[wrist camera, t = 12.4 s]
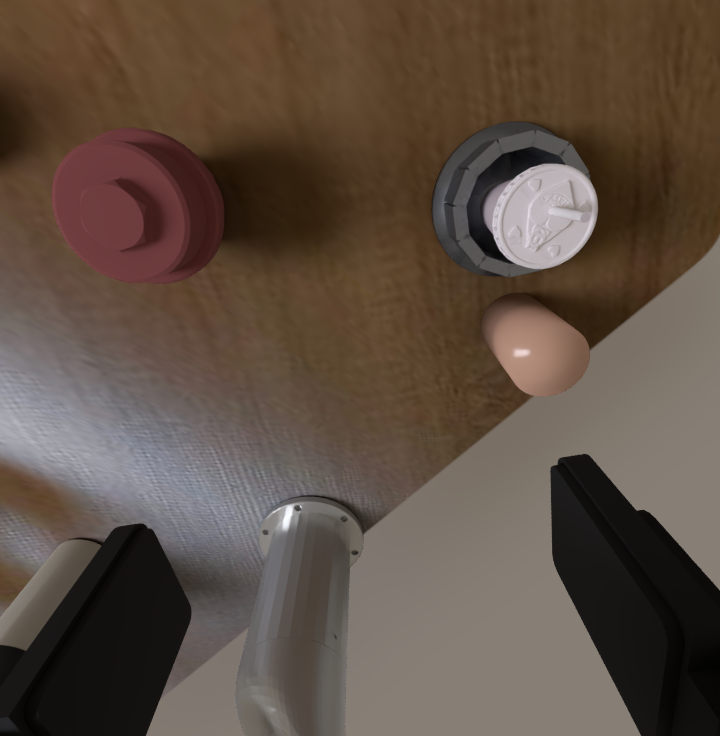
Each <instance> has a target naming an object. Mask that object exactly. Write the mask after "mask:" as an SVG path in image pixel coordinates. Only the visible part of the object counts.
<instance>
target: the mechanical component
mask: <svg viewBox="0 0 720 736" xmlns="http://www.w3.org/2000/svg"><path fill="white" fill-rule="evenodd" d="M52 205H53V211H54V215H55V218H56V221H57V224H58V226H59V229H60V231H61V233H62V234H63V236H64V238H65V240H66V241H67V243H68V244H69V245H70V247H71V248H72V250H73V251H74V252H75V253H76V254H77V255H78V256H79V257H80V258H81V259H82V260H83V261H84V262H85V263H87V264H88V265H89V266H90V267H92V268H93V269H95V270H96V271H98V272H100V273H102V274H104V275H106V276H108V277H110V278H113V279H116V280H119V281H124V282H129V283H143V282H147V283H153V284H166V283H174V282H177V281H181V280H183V279H186V278H188V277H190V276H192V275H193V274H195V273H196V272H198V271H200V270H201V269H202V268H203V267H205V266H206V265H207V264H208V263H209V262H210V260H211V259H212V258H213V257H214V255H215V253H216V252H217V250H218V248H219V245H220V243H221V240H222V236H223V231H224V202H223V197H222V194H221V191H220V189H219V187H218V185H217V183H216V182H215V179H214V176H213V174H212V173H211V172H210V171H209V170H208V169H207V168H206V166H205V165H204V164H203V162H202V161H201V160H200V159H199V158H198V157H197V156H196V155H195V154H194V153H193V152H192V151H191V150H190V149H188V148H187V147H186V146H185V145H183V144H182V143H180V142H178V141H177V140H175V139H173V138H171V137H169V136H167V135H164V134H162V133H158V132H154V131H150V130H144V129H138V128H121V129H114V130H111V131H108V132H105V133H103V134H101V135H99V136H98V137H96V138H94V139H93V140H92V141H90V142H87V143H84V144H81V145H79V146H78V147H76V148H75V149H73V150H72V151H71V152H69V153H68V154H67V155H66V156H65V157H64V159H63V160H62V162H61V163H60V164H59V166H58V168H57V171H56V173H55V176H54V180H53V184H52Z"/></svg>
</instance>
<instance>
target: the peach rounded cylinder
mask: <svg viewBox="0 0 720 736" xmlns="http://www.w3.org/2000/svg"><path fill="white" fill-rule="evenodd" d="M481 334H482V337H483V339H484V341H485V342H486V344H487V345H488V346H489V348H490V349H491V351H492V352H493V353H494V355H495V356H496V358H497V359H498V360H499V362H500V363H501V365H502V366H503V367H504V369H505V370H506V372H507V373H508V374H509V376H510V377H511V379H512V380H513V381H514V383H515V384H516V386H517V387H518V388H519V389H521V390H522V391H523V392H525V393H527V394H530V395H534V396H540V397H544V396H552V395H556V394H559V393H562V392H564V391H566V390H567V389H569V388H571V387H572V386H573V385H575V384H576V383H577V382H578V381H579V380H580V378H581V377H582V376H583V374H584V373H585V371H586V369H587V367H588V364H589V359H590V349H589V345H588V343H587V341H586V339H585V337H584V336H583V335H582V334H581V333H580V332H579V331H577V330H576V329H575V328H573V327H572V326H571V325H569V324H568V323H567V322H565V321H564V320H563V319H561V318H560V317H558V316H557V315H556V314H554V313H553V312H552V311H550V310H549V309H548V308H546V307H545V306H544V305H542V304H541V303H540V302H538V301H537V300H536V299H534V298H533V297H531V296H529V295H527V294H523V293H511V294H507V295H504V296H502V297H500V298H498V299H496V300H495V301H494V302H493V303H491V304H490V305H489V307H488V308H487V309H486V311H485V312H484V314H483V317H482V320H481Z"/></svg>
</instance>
